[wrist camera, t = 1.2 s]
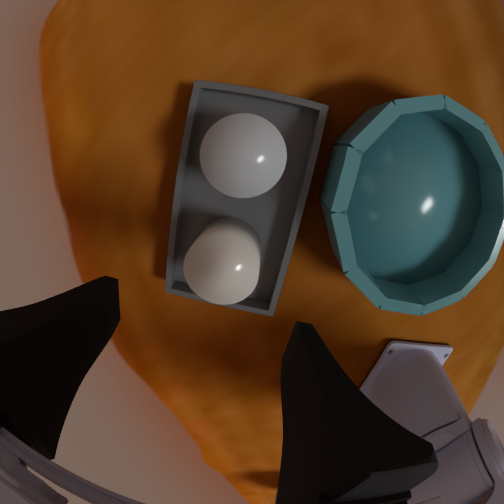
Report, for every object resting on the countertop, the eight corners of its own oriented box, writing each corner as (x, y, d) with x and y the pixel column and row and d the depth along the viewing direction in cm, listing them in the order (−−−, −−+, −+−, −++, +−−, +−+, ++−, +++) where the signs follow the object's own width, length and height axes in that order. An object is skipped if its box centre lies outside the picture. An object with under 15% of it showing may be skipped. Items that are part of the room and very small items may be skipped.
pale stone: (254, 281, 19) (250, 311, 15) (195, 268, 18) (180, 295, 15) (267, 224, 17) (266, 245, 14) (203, 211, 17) (187, 228, 14)
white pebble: (275, 193, 16) (276, 206, 13) (209, 179, 16) (193, 189, 13) (290, 127, 15) (295, 123, 11) (221, 114, 15) (208, 107, 11)
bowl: (445, 298, 19) (465, 322, 15) (299, 267, 18) (304, 295, 15) (495, 147, 14) (525, 153, 10) (348, 72, 13) (366, 58, 10)
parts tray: (273, 304, 20) (272, 316, 18) (171, 281, 19) (164, 291, 18) (324, 108, 14) (329, 105, 13) (201, 85, 14) (194, 80, 13)
